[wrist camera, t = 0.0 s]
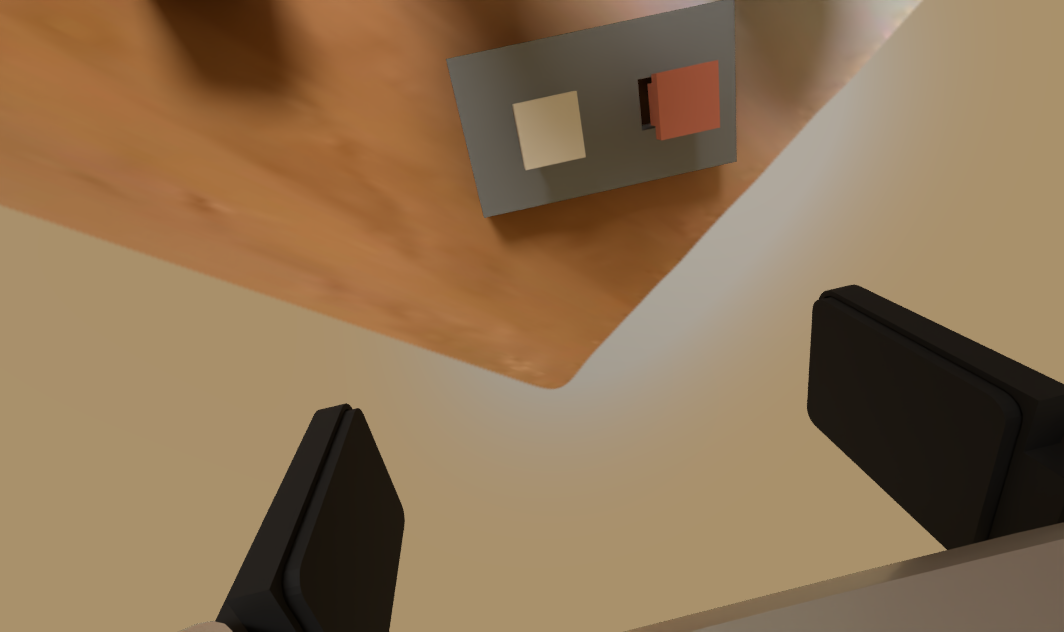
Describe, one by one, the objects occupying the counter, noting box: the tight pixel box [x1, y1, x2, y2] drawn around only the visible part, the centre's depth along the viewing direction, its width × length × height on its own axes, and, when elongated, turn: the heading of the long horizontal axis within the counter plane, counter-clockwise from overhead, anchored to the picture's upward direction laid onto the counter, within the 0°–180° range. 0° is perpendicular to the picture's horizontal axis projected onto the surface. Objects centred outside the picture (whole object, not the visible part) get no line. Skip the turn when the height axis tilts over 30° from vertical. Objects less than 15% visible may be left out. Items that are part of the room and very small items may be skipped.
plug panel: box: [446, 0, 737, 218], centre depth 40 cm, size 12×22×4 cm, turn 101°
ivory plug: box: [512, 91, 586, 170], centre depth 36 cm, size 4×4×4 cm
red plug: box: [647, 60, 720, 140], centre depth 36 cm, size 4×4×4 cm
